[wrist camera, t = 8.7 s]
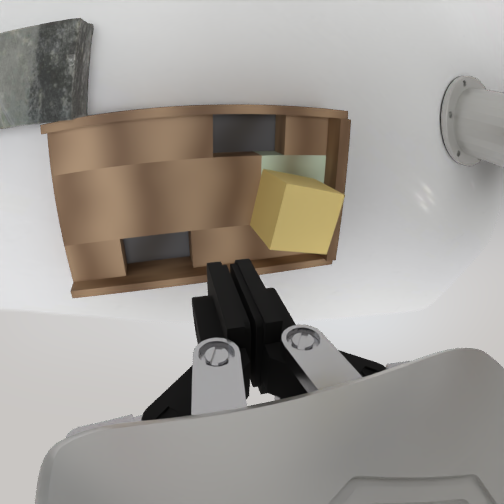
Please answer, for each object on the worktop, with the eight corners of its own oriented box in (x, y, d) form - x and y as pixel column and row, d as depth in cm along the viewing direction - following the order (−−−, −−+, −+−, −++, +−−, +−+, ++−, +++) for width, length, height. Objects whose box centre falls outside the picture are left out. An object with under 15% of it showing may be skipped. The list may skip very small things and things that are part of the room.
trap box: (324, 108, 27) (351, 111, 24) (313, 246, 34) (334, 266, 30) (55, 121, 21) (38, 125, 17) (79, 274, 27) (71, 301, 24)
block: (314, 178, 28) (344, 195, 23) (300, 230, 30) (326, 254, 25) (262, 168, 26) (286, 183, 22) (249, 224, 28) (269, 249, 24)
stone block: (-38, 45, 14) (-66, 40, 9) (99, 18, 18) (88, 0, 14) (-45, 136, 18) (-75, 145, 13) (88, 117, 22) (74, 120, 18)
